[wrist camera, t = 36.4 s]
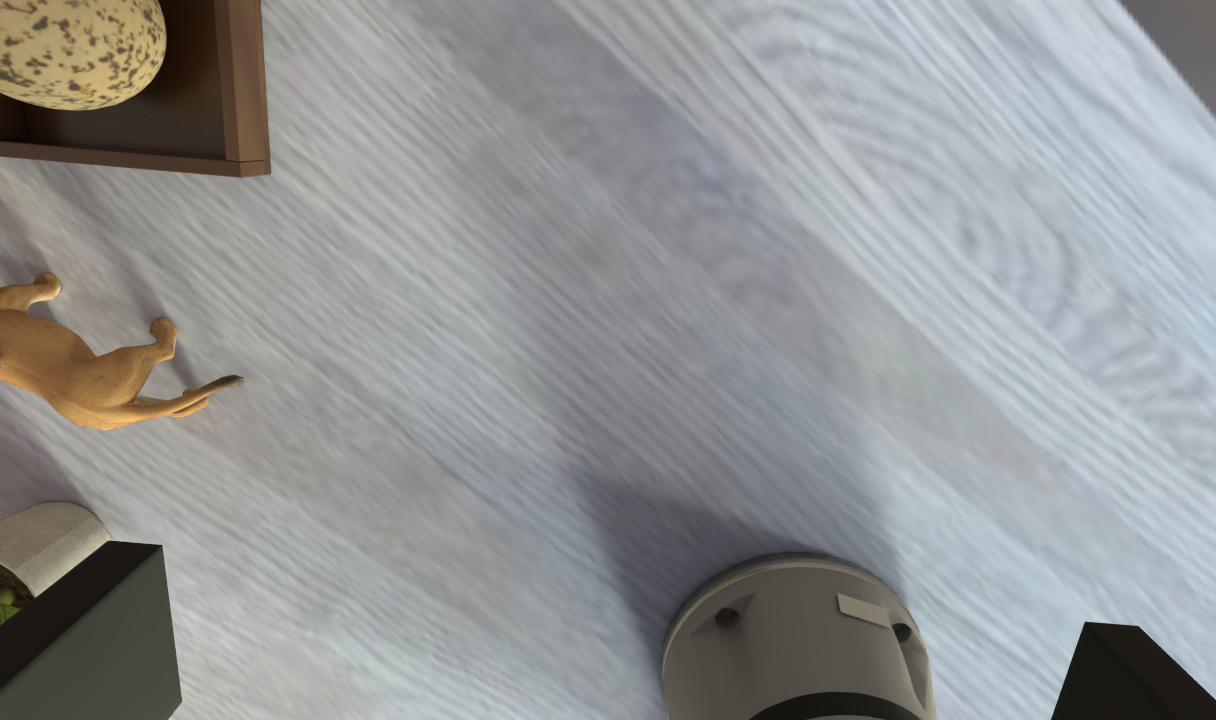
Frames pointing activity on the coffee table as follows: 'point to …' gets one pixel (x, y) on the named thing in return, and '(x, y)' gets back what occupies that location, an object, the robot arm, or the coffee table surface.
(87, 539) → the house plant
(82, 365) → the lion figurine
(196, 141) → the sorting tray
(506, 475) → the coffee table surface
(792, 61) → the coffee table surface
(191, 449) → the coffee table surface
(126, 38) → the decorative egg
